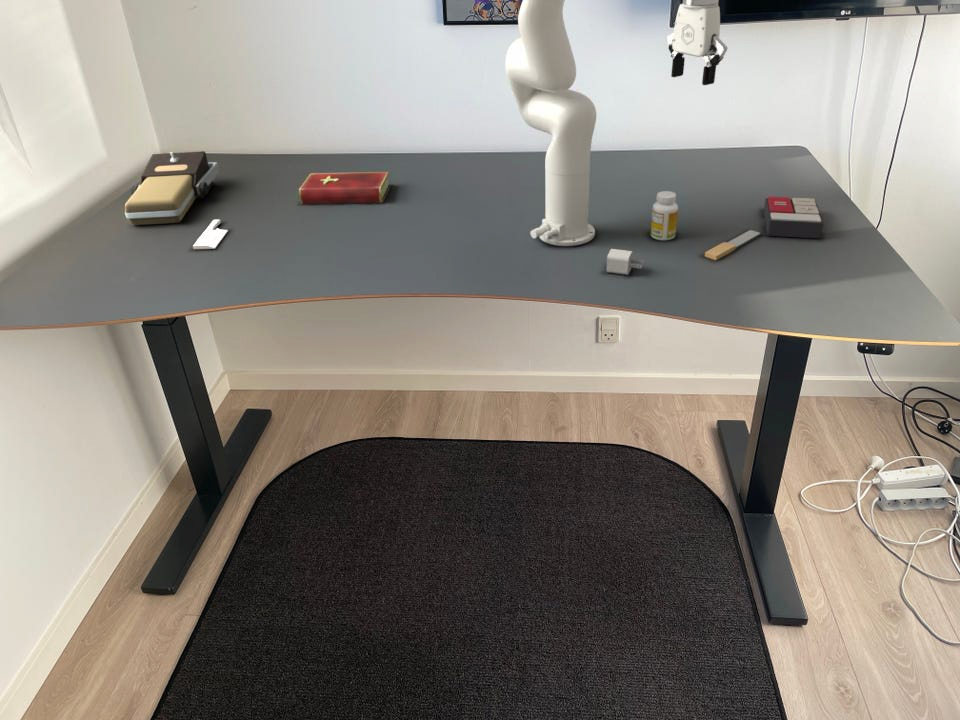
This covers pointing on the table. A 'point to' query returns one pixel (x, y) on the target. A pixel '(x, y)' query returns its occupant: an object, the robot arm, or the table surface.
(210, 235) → the butcher knife
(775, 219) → the calculator
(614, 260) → the usb wall charger
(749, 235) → the chisel
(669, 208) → the supplement bottle
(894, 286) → the table surface
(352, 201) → the hardcover book
